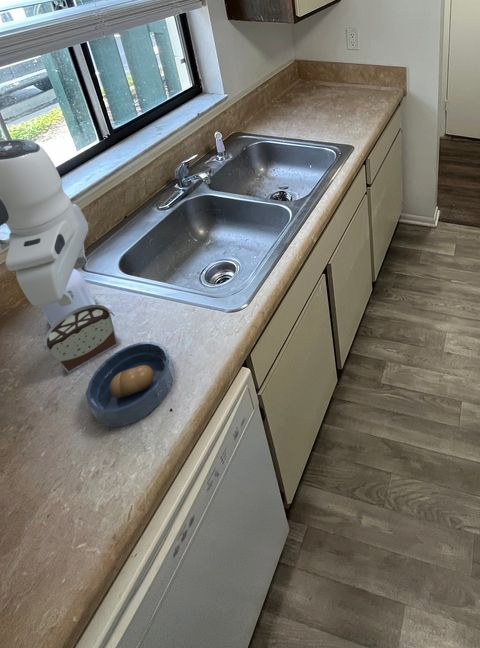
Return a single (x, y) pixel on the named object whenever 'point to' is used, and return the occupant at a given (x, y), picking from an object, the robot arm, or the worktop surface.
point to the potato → (131, 381)
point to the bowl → (137, 404)
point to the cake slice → (81, 336)
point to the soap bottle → (80, 300)
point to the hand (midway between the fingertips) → (75, 282)
